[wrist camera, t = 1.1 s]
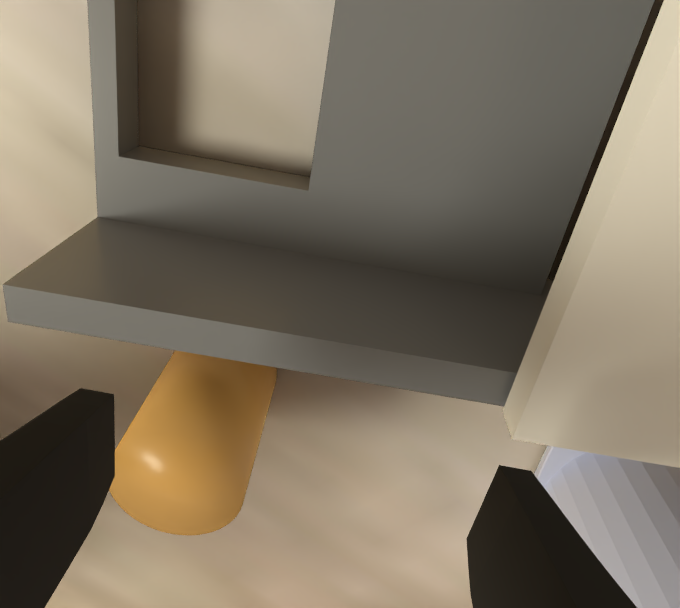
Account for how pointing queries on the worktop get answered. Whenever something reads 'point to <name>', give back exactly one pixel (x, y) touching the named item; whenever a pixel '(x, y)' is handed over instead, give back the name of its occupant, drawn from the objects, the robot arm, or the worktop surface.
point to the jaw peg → (193, 444)
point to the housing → (354, 200)
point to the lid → (617, 289)
